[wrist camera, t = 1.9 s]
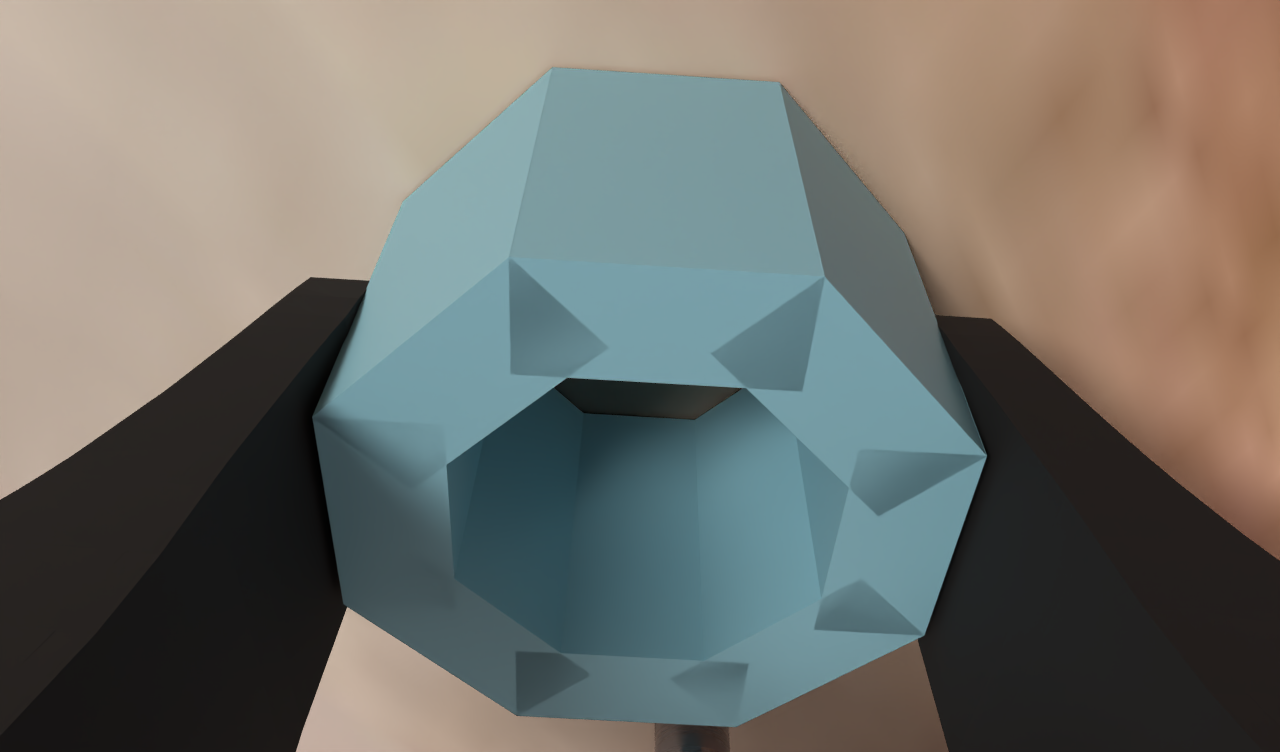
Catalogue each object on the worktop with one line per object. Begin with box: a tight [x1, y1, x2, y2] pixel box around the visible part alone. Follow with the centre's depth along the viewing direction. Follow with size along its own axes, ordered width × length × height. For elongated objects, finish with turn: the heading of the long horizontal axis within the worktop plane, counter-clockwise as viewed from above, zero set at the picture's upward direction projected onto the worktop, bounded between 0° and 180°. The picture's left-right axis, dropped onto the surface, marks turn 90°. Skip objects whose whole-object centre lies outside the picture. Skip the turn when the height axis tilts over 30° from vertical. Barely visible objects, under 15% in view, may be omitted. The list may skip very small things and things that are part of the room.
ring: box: [312, 67, 987, 727], centre depth 10 cm, size 5×5×4 cm
